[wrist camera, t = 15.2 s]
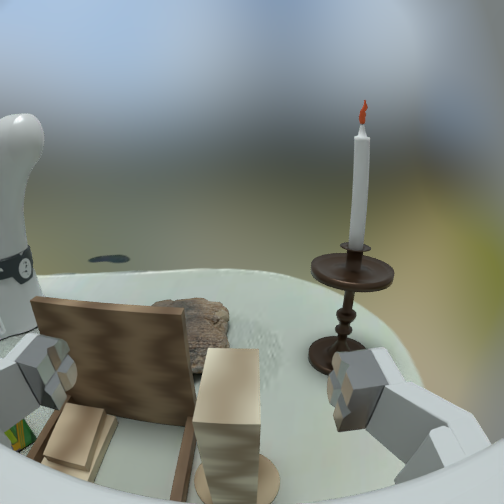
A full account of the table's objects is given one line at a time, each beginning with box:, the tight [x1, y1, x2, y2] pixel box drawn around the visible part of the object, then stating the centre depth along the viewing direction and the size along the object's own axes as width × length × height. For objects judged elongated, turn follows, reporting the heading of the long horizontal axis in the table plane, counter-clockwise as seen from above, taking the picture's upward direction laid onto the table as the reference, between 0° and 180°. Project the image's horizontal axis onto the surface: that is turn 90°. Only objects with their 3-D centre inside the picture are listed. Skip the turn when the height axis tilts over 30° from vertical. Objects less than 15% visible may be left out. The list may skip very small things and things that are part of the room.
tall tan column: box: [192, 348, 261, 504], centre depth 19 cm, size 4×7×14 cm, turn 0°
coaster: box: [194, 454, 280, 504], centre depth 21 cm, size 8×8×1 cm
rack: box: [26, 296, 197, 502], centre depth 20 cm, size 17×15×15 cm
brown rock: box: [152, 298, 230, 374], centre depth 43 cm, size 14×5×20 cm
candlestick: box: [308, 100, 394, 376], centre depth 35 cm, size 11×11×35 cm
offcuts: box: [41, 403, 118, 483], centre depth 22 cm, size 6×10×2 cm, turn 0°
